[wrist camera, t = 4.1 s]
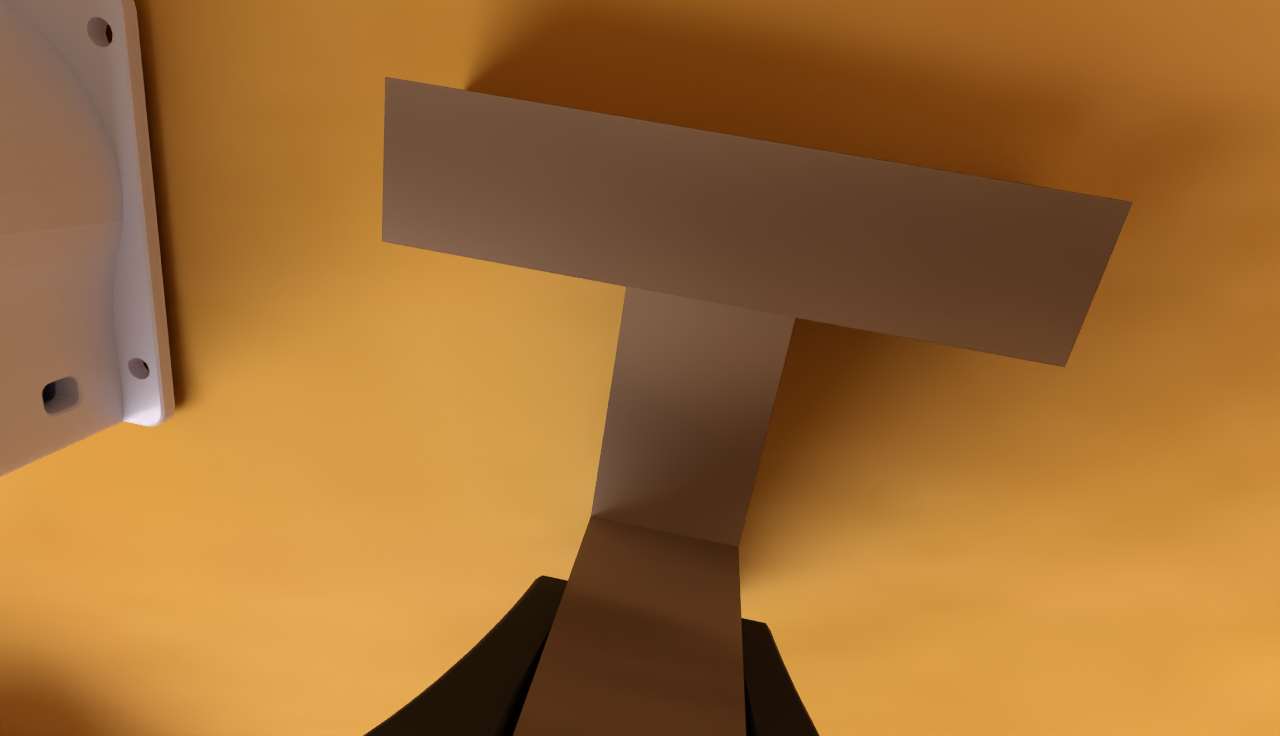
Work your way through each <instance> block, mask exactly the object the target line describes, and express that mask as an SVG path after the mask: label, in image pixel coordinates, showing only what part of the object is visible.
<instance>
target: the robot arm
mask: <svg viewBox="0 0 1280 736" xmlns="http://www.w3.org/2000/svg"><path fill="white" fill-rule="evenodd" d="M108 24H109V26H110V27H111V30H112V34H113V37H112V42H111V43H109V42H108V40H107V36H106V26H107V25H108ZM143 361H144V362H145V363H146V364H147V365H148V368H149V370H150V372H149V371H148V370H147V369H146V368H145V366H144V364H143ZM174 412H175V401H174V390H173V380H172V370H171V359H170V349H169V339H168V328H167V318H166V308H165V298H164V287H163V277H162V267H161V256H160V246H159V236H158V225H157V215H156V205H155V194H154V184H153V174H152V164H151V153H150V143H149V133H148V122H147V112H146V102H145V91H144V81H143V71H142V61H141V50H140V40H139V30H138V19H137V10H136V6H135V2H134V0H0V477H1V476H3V475H5V474H7V473H10V472H12V471H14V470H16V469H18V468H21V467H23V466H25V465H27V464H29V463H32V462H34V461H36V460H38V459H41V458H43V457H45V456H47V455H49V454H52V453H54V452H56V451H58V450H60V449H63V448H65V447H67V446H69V445H71V444H74V443H76V442H78V441H80V440H83V439H85V438H87V437H89V436H91V435H94V434H96V433H98V432H100V431H102V430H105V429H107V428H109V427H111V426H113V425H116V424H118V423H120V422H122V421H124V422H129V423H134V424H139V425H144V426H156V425H159V424H161V423H163V422H165V421H167V420H169V419H171V417H172V416H173V415H174ZM567 582H568V581H566V580H561V579H557V578H552V577H547V576H543V575H542V576H541V577H539V578H537V579H536V580H535V581H534V582H533V584H532V585H531V586H530V588H529V589H528V590H527V591H526V592H525V594H524V595H523V596H522V597H521V598H520V600H519V601H518V602H517V603H516V604H515V605H514V606H513V608H512V609H511V610H510V611H509V612H508V613H507V614H506V615H505V616H504V617H503V618H502V619H501V621H500V622H499V623H498V624H497V625H496V626H495V627H494V628H493V629H492V630H491V631H490V632H489V633H488V634H487V635H486V636H485V637H484V638H483V639H482V640H481V641H480V642H479V643H478V644H477V645H476V646H475V647H474V648H472V649H471V650H470V651H469V652H468V653H467V654H466V655H465V656H464V657H463V658H462V659H460V660H459V661H458V662H457V663H456V664H455V665H454V666H453V667H451V668H450V669H449V670H448V671H447V672H446V673H445V674H444V675H442V676H441V677H440V678H439V679H438V680H437V681H436V682H434V683H433V684H432V685H431V686H430V687H428V688H427V689H426V690H425V691H423V692H422V693H421V694H420V695H418V696H417V697H416V698H415V699H413V700H412V701H411V702H410V703H408V704H407V705H406V706H404V707H403V708H402V709H400V710H399V711H398V712H396V713H395V714H394V715H392V716H391V717H390V718H388V719H387V720H385V721H384V722H383V723H381V724H380V725H378V726H377V727H375V728H374V729H372V730H371V731H369V732H368V733H367V734H365V735H364V736H513V734H514V731H515V728H516V725H517V723H518V720H519V717H520V714H521V711H522V709H523V706H524V703H525V700H526V697H527V695H528V692H529V689H530V686H531V683H532V681H533V678H534V675H535V672H536V669H537V667H538V664H539V661H540V658H541V655H542V652H543V650H544V647H545V644H546V641H547V638H548V636H549V633H550V630H551V627H552V624H553V622H554V619H555V616H556V613H557V610H558V608H559V605H560V602H561V599H562V596H563V594H564V591H565V588H566V585H567ZM741 625H742V648H743V672H744V695H745V719H746V736H819V734H818V732H817V730H816V728H815V726H814V724H813V722H812V720H811V718H810V716H809V715H808V713H807V711H806V709H805V707H804V705H803V703H802V701H801V699H800V697H799V695H798V693H797V691H796V689H795V687H794V684H793V682H792V680H791V678H790V676H789V674H788V671H787V669H786V667H785V665H784V662H783V660H782V658H781V656H780V653H779V651H778V649H777V646H776V644H775V641H774V639H773V636H772V634H771V631H770V629H769V628H768V626H767V625H766V623H762V622H757V621H753V620H748V619H743V618H741Z"/></svg>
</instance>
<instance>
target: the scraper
mask: <svg viewBox="0 0 1280 736" xmlns="http://www.w3.org/2000/svg"><path fill="white" fill-rule="evenodd" d="M1131 205H1132V202H1129V201H1123V200H1117V199H1111V198H1105V197H1099V196H1093V195H1087V194H1081V193H1075V192H1069V191H1063V190H1057V189H1051V188H1045V187H1039V186H1033V185H1027V184H1021V183H1015V182H1009V181H1003V180H997V179H991V178H985V177H979V176H974V175H968V174H962V173H956V172H950V171H944V170H938V169H932V168H926V167H920V166H914V165H908V164H902V163H896V162H890V161H884V160H878V159H872V158H866V157H860V156H854V155H848V154H842V153H836V152H830V151H824V150H818V149H812V148H806V147H800V146H795V145H789V144H783V143H777V142H771V141H765V140H759V139H753V138H747V137H741V136H735V135H729V134H723V133H717V132H711V131H705V130H699V129H693V128H687V127H681V126H675V125H669V124H663V123H657V122H651V121H645V120H639V119H633V118H627V117H622V116H616V115H610V114H604V113H598V112H592V111H586V110H580V109H574V108H568V107H562V106H556V105H550V104H544V103H538V102H532V101H526V100H520V99H514V98H508V97H502V96H496V95H490V94H484V93H478V92H472V91H466V90H460V89H454V88H448V87H443V86H437V85H431V84H425V83H419V82H413V81H407V80H401V79H395V78H389V77H385V123H384V170H383V217H382V242H388V243H393V244H399V245H404V246H410V247H415V248H420V249H426V250H431V251H437V252H442V253H448V254H453V255H458V256H464V257H469V258H475V259H480V260H486V261H491V262H496V263H502V264H507V265H513V266H518V267H524V268H529V269H534V270H540V271H545V272H551V273H556V274H562V275H567V276H572V277H578V278H583V279H589V280H594V281H600V282H605V283H610V284H616V285H621V286H627V287H626V293H625V300H624V306H623V313H622V319H621V326H620V332H619V339H618V345H617V351H616V358H615V364H614V371H613V377H612V384H611V390H610V397H609V403H608V410H607V416H606V423H605V429H604V436H603V442H602V449H601V455H600V462H599V468H598V474H597V481H596V487H595V494H594V500H593V507H592V513H591V518H590V521H589V523H588V526H587V529H586V532H585V535H584V537H583V540H582V543H581V546H580V549H579V552H578V554H577V557H576V560H575V563H574V566H573V568H572V571H571V574H570V577H569V580H568V582H567V585H566V588H565V591H564V594H563V596H562V599H561V602H560V605H559V608H558V610H557V613H556V616H555V619H554V622H553V624H552V627H551V630H550V633H549V636H548V638H547V641H546V644H545V647H544V650H543V652H542V655H541V658H540V661H539V664H538V667H537V669H536V672H535V675H534V678H533V681H532V683H531V686H530V689H529V692H528V695H527V697H526V700H525V703H524V706H523V709H522V711H521V714H520V717H519V720H518V723H517V725H516V728H515V731H514V734H513V736H746V719H745V695H744V672H743V648H742V625H741V601H740V577H739V554H738V546H739V542H740V538H741V534H742V530H743V526H744V522H745V518H746V514H747V510H748V506H749V502H750V498H751V494H752V490H753V486H754V482H755V478H756V474H757V470H758V466H759V462H760V458H761V454H762V450H763V446H764V442H765V438H766V434H767V430H768V426H769V422H770V418H771V414H772V410H773V406H774V402H775V398H776V394H777V390H778V386H779V382H780V378H781V374H782V370H783V366H784V362H785V358H786V354H787V350H788V346H789V342H790V338H791V334H792V330H793V326H794V322H795V318H801V319H806V320H811V321H817V322H822V323H828V324H833V325H839V326H844V327H849V328H855V329H860V330H866V331H871V332H877V333H882V334H887V335H893V336H898V337H904V338H909V339H915V340H920V341H925V342H931V343H936V344H942V345H947V346H953V347H958V348H963V349H969V350H974V351H980V352H985V353H991V354H996V355H1002V356H1007V357H1012V358H1018V359H1023V360H1029V361H1034V362H1040V363H1045V364H1050V365H1056V366H1061V367H1065V366H1066V363H1067V361H1068V358H1069V356H1070V353H1071V351H1072V349H1073V346H1074V344H1075V341H1076V339H1077V336H1078V334H1079V332H1080V329H1081V327H1082V324H1083V322H1084V319H1085V317H1086V314H1087V312H1088V310H1089V307H1090V305H1091V302H1092V300H1093V297H1094V295H1095V293H1096V290H1097V288H1098V285H1099V283H1100V280H1101V278H1102V275H1103V273H1104V271H1105V268H1106V266H1107V263H1108V261H1109V258H1110V256H1111V254H1112V251H1113V249H1114V246H1115V244H1116V241H1117V239H1118V236H1119V234H1120V232H1121V229H1122V227H1123V224H1124V222H1125V219H1126V217H1127V215H1128V212H1129V210H1130V207H1131Z"/></svg>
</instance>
